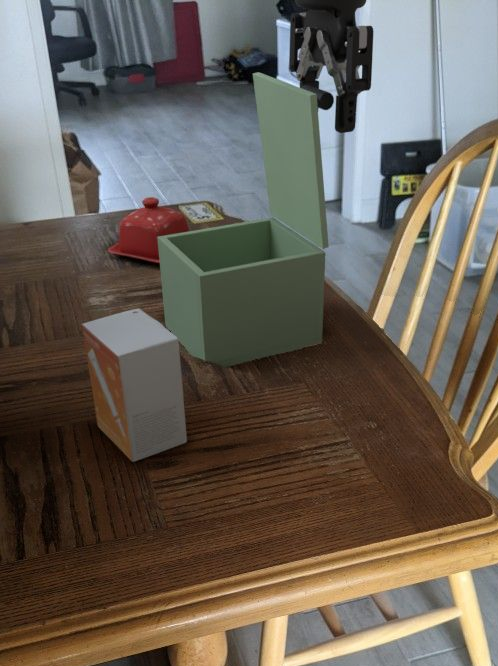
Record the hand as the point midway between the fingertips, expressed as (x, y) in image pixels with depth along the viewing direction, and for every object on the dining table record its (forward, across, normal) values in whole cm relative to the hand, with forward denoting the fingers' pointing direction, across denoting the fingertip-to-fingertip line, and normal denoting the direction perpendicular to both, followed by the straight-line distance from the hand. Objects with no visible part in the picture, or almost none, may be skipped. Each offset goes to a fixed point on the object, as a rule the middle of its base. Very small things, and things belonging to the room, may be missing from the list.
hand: (326, 123), depth 90 cm
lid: (+4, 0, -5) cm, 6 cm away
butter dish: (+24, -32, -12) cm, 42 cm away
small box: (+24, +18, -31) cm, 43 cm away
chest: (+24, 0, -11) cm, 27 cm away
